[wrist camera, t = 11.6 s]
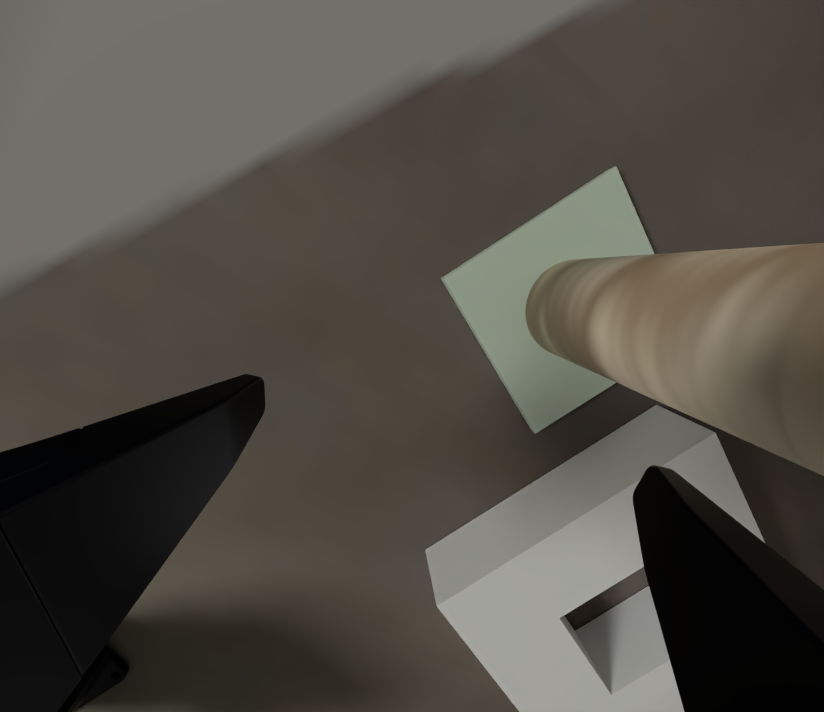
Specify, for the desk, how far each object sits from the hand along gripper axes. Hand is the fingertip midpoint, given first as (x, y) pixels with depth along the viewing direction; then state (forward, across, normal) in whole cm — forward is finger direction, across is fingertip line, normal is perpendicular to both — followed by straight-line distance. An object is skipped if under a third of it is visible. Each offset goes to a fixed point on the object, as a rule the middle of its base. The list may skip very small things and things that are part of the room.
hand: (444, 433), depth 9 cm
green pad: (+14, -5, +1) cm, 15 cm away
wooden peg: (+13, -6, +1) cm, 14 cm away
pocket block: (+10, -12, +16) cm, 23 cm away
